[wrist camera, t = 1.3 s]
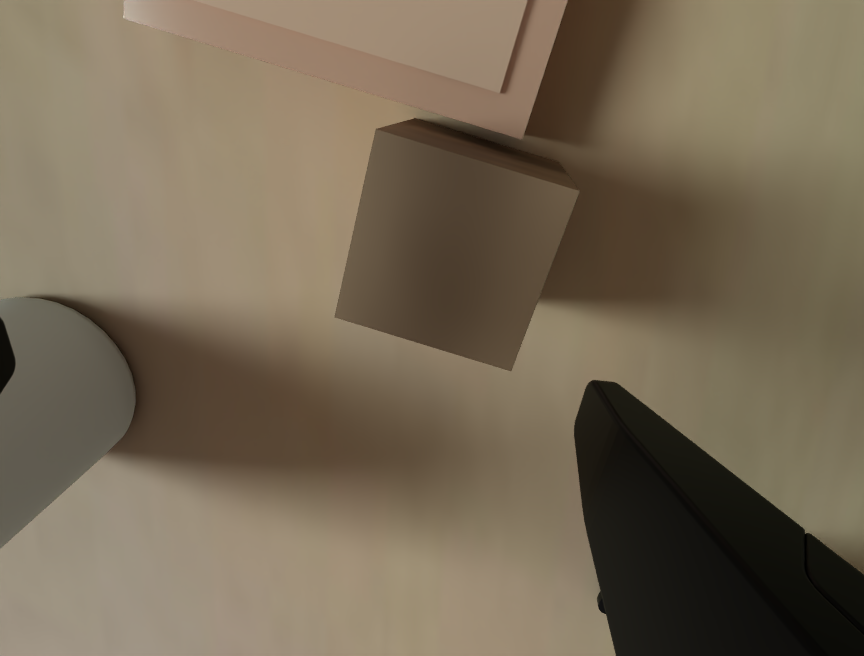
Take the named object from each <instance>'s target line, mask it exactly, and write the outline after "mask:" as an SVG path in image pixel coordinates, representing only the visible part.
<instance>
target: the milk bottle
mask: <svg viewBox="0 0 864 656" xmlns="http://www.w3.org/2000/svg"><path fill="white" fill-rule="evenodd" d="M0 317H1V319H2V320H3V321H4V324H5V327H6V330H7V333H8V336H9V339H10V343H11V346H12V349H13V352H14V355H15V359H16V366H15V371H14V373H13V375H12V377H11V379H10V380H9V382H8V383H7V385H6V386H5V388H4V389H3V391H2V392H1V394H0V548H2V547H3V546H4V545H5V544H6V543H7V542H8V541H9V540H11V539H12V538H13V537H14V536H15V535H16V534H17V533H18V532H20V531H21V530H22V529H23V528H24V527H25V526H26V525H27V524H28V523H30V522H31V521H32V520H33V519H34V518H35V517H36V516H37V515H38V514H40V513H41V512H42V511H43V510H44V509H45V508H46V507H47V506H49V505H50V504H51V503H52V502H53V501H54V500H55V499H56V498H57V497H59V496H60V495H61V494H62V493H63V492H64V491H65V490H66V489H67V488H69V487H70V486H71V485H72V484H73V483H74V482H75V481H76V480H77V479H79V478H80V477H81V476H82V475H83V474H84V473H85V472H86V471H87V470H89V469H90V468H91V467H92V466H93V465H94V464H95V463H96V462H97V461H98V460H100V459H101V458H102V457H103V456H104V455H105V454H106V453H107V452H108V451H109V450H110V449H111V448H112V447H113V446H114V445H115V444H116V443H117V442H118V441H119V440H120V439H121V438H122V437H123V436H124V435H125V433H126V432H127V430H128V428H129V426H130V423H131V421H132V418H133V414H134V409H135V404H136V388H135V385H134V381H133V376H132V373H131V371H130V369H129V367H128V364H127V362H126V359H125V358H124V356H123V355H122V353H121V352H120V350H119V349H118V347H117V346H116V344H115V343H114V342H113V341H112V340H111V339H110V338H109V336H108V335H107V334H106V333H105V332H104V331H103V330H102V329H101V328H100V327H98V326H97V325H96V324H95V323H94V322H92V321H91V320H90V319H89V318H87V317H85V316H84V315H82V314H80V313H79V312H77V311H76V310H74V309H72V308H69V307H67V306H64V305H62V304H60V303H57V302H53V301H48V300H44V299H40V298H25V297H15V298H7V299H3V300H0Z"/></svg>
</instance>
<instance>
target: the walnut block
mask: <svg viewBox="0 0 864 656" xmlns="http://www.w3.org/2000/svg"><path fill="white" fill-rule="evenodd" d="M579 192H580V191H579V189H578V188H577V187H576V185H575V184H574V182H573V181H572V180H571V178H570V177H569V175H568V174H567V173H566V171H565V170H564V169H563V167H562V166H561V164H560V163H559V162H557V161H554V160H550V159H547V158H544V157H540V156H537V155H534V154H530V153H527V152H524V151H521V150H517V149H514V148H511V147H507V146H504V145H501V144H498V143H494V142H491V141H488V140H484V139H481V138H478V137H474V136H471V135H468V134H465V133H461V132H458V131H455V130H451V129H448V128H445V127H441V126H438V125H435V124H432V123H428V122H425V121H422V120H418V119H415V118H414V119H411V120H407V121H403V122H400V123H396V124H393V125H389V126H385V127H382V128H378V129H376V131H375V135H374V140H373V144H372V149H371V153H370V158H369V163H368V167H367V172H366V176H365V181H364V185H363V190H362V194H361V199H360V203H359V208H358V213H357V217H356V222H355V226H354V231H353V235H352V240H351V244H350V249H349V254H348V258H347V263H346V267H345V272H344V276H343V281H342V285H341V290H340V294H339V299H338V304H337V308H336V313H335V317H336V318H339V319H342V320H345V321H349V322H352V323H355V324H358V325H362V326H365V327H368V328H371V329H375V330H378V331H381V332H385V333H388V334H391V335H394V336H398V337H401V338H404V339H407V340H411V341H414V342H417V343H420V344H424V345H427V346H430V347H433V348H437V349H440V350H443V351H447V352H450V353H453V354H456V355H460V356H463V357H466V358H469V359H473V360H476V361H479V362H482V363H486V364H489V365H492V366H495V367H499V368H502V369H505V370H509V371H511V370H512V367H513V365H514V362H515V360H516V357H517V354H518V352H519V349H520V347H521V344H522V341H523V339H524V336H525V333H526V331H527V328H528V326H529V323H530V320H531V318H532V315H533V312H534V310H535V307H536V305H537V302H538V299H539V297H540V294H541V292H542V289H543V286H544V284H545V281H546V278H547V276H548V273H549V271H550V268H551V265H552V263H553V260H554V258H555V255H556V252H557V250H558V247H559V244H560V242H561V239H562V237H563V234H564V231H565V229H566V226H567V223H568V221H569V218H570V216H571V213H572V210H573V208H574V205H575V203H576V200H577V197H578V195H579Z"/></svg>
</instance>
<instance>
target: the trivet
mask: <svg viewBox="0 0 864 656" xmlns="http://www.w3.org/2000/svg"><path fill="white" fill-rule="evenodd" d="M567 1H568V0H124V16H123V19H126V20H129V21H133V22H136V23H139V24H143V25H146V26H149V27H152V28H156V29H159V30H162V31H166V32H169V33H172V34H175V35H179V36H182V37H185V38H189V39H192V40H195V41H199V42H202V43H205V44H208V45H212V46H215V47H218V48H222V49H225V50H228V51H231V52H235V53H238V54H241V55H245V56H248V57H251V58H255V59H258V60H261V61H264V62H268V63H271V64H274V65H278V66H281V67H284V68H287V69H291V70H294V71H297V72H301V73H304V74H307V75H311V76H314V77H317V78H320V79H324V80H327V81H330V82H334V83H337V84H340V85H343V86H347V87H350V88H353V89H357V90H360V91H363V92H367V93H370V94H373V95H376V96H380V97H383V98H386V99H390V100H393V101H396V102H399V103H403V104H406V105H409V106H413V107H416V108H419V109H423V110H426V111H429V112H432V113H436V114H439V115H442V116H446V117H449V118H452V119H455V120H459V121H462V122H465V123H469V124H472V125H475V126H479V127H482V128H485V129H488V130H492V131H495V132H498V133H502V134H505V135H508V136H511V137H515V138H518V139H521V140H522V139H523V136H524V133H525V130H526V127H527V124H528V121H529V117H530V114H531V111H532V108H533V105H534V102H535V99H536V96H537V93H538V90H539V87H540V84H541V81H542V78H543V75H544V72H545V69H546V65H547V62H548V59H549V56H550V53H551V50H552V47H553V44H554V41H555V38H556V35H557V32H558V29H559V26H560V23H561V20H562V17H563V13H564V10H565V7H566V4H567Z"/></svg>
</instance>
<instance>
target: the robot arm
mask: <svg viewBox="0 0 864 656" xmlns="http://www.w3.org/2000/svg"><path fill="white" fill-rule="evenodd" d="M15 366H16V359H15V355H14V352H13V349H12V346H11V343H10V339H9V336H8V333H7V330H6V327H5V324H4V321H3V320H2V319H1V317H0V394H1V392H2V391H3V389H4V388H5V386H6V385H7V383H8V382H9V380H10V379H11V377H12V375H13V373H14V371H15ZM574 438H575V447H576V456H577V465H578V473H579V482H580V491H581V499H582V508H583V515H584V522H585V526H586V531H587V536H588V540H589V544H590V548H591V553H592V557H593V561H594V565H595V569H596V574H597V578H598V582H599V586H600V590H601V591H600V593H599V595H598V597H597V602H598V607H599V610H600V611H601V612H602V613H604V614H606V616H607V620H608V624H609V628H610V632H611V637H612V641H613V645H614V649H615V653H616V656H864V575H863V574H862V573H861V572H860V571H858V570H857V569H856V568H854V567H853V566H852V565H850V564H849V563H848V562H846V561H845V560H844V559H842V558H841V557H840V556H838V555H837V554H836V553H834V552H833V551H832V550H831V549H829V548H828V547H827V546H826V545H824V544H823V543H822V542H820V541H819V540H818V539H817V538H815V537H814V536H813V535H812V534H810V533H806V534H805V530H804V529H803V528H802V527H801V526H800V525H799V524H797V523H796V522H795V521H793V520H792V519H791V518H790V517H788V516H787V515H786V514H784V513H783V512H782V511H781V510H779V509H778V508H777V507H775V506H774V505H773V504H772V503H770V502H769V501H768V500H766V499H765V498H764V497H763V496H761V495H760V494H759V493H757V492H756V491H755V490H754V489H752V488H751V487H750V486H748V485H747V484H746V483H745V482H743V481H742V480H741V479H739V478H738V477H737V476H736V475H734V474H733V473H732V472H731V471H729V470H728V469H727V468H725V467H724V466H723V465H722V464H720V463H719V462H718V461H716V460H715V459H714V458H713V457H711V456H710V455H709V454H707V453H706V452H705V451H704V450H702V449H701V448H700V447H698V446H697V445H696V444H695V443H693V442H692V441H691V440H689V439H688V438H687V437H686V436H684V435H683V434H682V433H680V432H679V431H678V430H677V429H675V428H674V427H673V426H671V425H670V424H669V423H668V422H666V421H665V420H664V419H663V418H661V417H660V416H659V415H657V414H656V413H655V412H654V411H652V410H651V409H650V408H648V407H647V406H646V405H645V404H643V403H642V402H641V401H639V400H638V399H637V398H636V397H634V396H633V395H632V394H630V393H629V392H628V391H627V390H625V389H624V388H623V387H621V386H620V385H619V384H617V383H615V382H608V381H599V380H592V381H590V382H589V383H588V385H587V386H586V389H585V392H584V395H583V398H582V401H581V404H580V408H579V411H578V414H577V417H576V420H575V425H574Z"/></svg>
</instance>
